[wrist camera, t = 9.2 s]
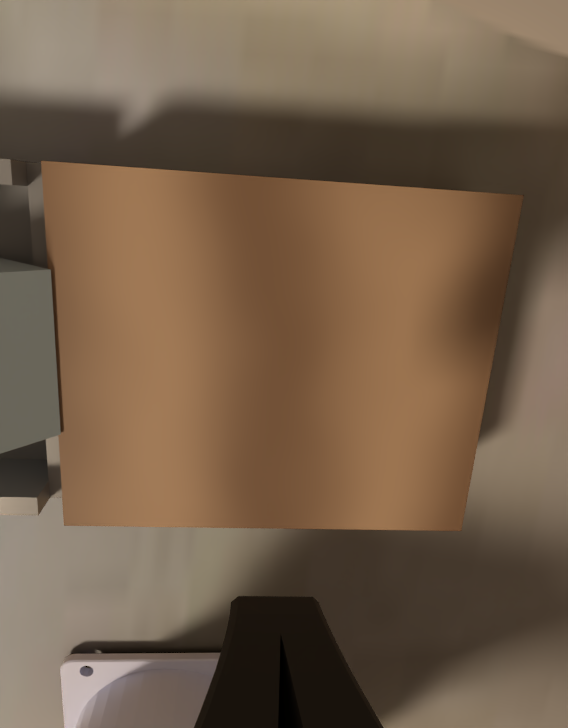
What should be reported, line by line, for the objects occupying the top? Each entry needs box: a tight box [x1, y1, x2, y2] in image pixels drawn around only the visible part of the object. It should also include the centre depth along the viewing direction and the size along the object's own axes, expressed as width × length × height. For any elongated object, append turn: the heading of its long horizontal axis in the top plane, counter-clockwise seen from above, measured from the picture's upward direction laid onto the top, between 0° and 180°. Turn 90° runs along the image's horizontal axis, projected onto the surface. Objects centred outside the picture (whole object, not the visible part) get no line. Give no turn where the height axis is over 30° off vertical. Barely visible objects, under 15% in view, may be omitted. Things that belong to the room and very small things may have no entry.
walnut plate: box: [41, 161, 524, 531], centre depth 16 cm, size 12×10×4 cm
